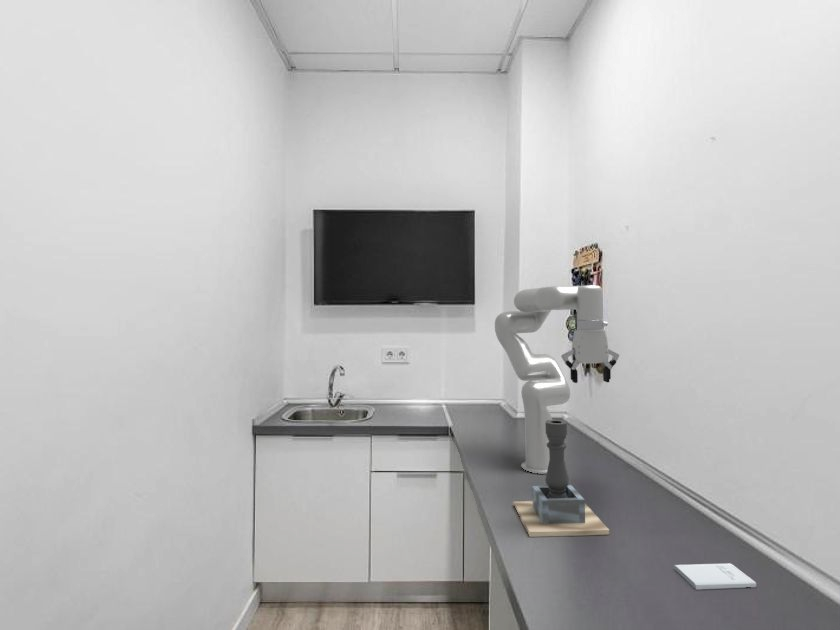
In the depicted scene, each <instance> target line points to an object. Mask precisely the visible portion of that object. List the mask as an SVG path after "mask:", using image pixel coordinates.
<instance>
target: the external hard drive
mask: <svg viewBox="0 0 840 630" xmlns="http://www.w3.org/2000/svg"><path fill="white" fill-rule="evenodd" d="M673 569H674V571H676V572H677V573H678V574H679V575H680V576H681V578H683V579H684V580H685V581H686V582H687V583H688V584H689V585H691V587H693V588H694V589H695V591H697V590H698V591H700V590H721V589H724V590H725V589H745V588H746V587H751V588H757V582H756V581H755V580H753V578H751V577H750V576H748V575H747V574H746V573H744V572H743V571H741V570H740V569H739V568H738V567H736V566H735V565H734V564H732V563H729V562H728V563H701V564H700V563H697V564H696V563H695V564H674V565H673ZM746 589H747V588H746Z"/></svg>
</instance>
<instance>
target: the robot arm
mask: <svg viewBox="0 0 840 630" xmlns="http://www.w3.org/2000/svg"><path fill="white" fill-rule="evenodd" d="M603 294H604V293H603V288H602V287H601V286H600V285H594V284H592V285H554V286H553V285H552V286H545V287H536V288H527V289H522V290H520V291H518V292H517V293H516V294H515V296H514V297H513V305H514V307H515V308H516V309H517V310H508V311H504V312H501V313H499V314H498V315H497V316H496V318H495V320H494V331H495V336H496V339H497V341H498V342H499V343H500V345H501V346H502V348H503V349H504V351H505V352H506V355H507V357H508V359H509V361H510V363H511V366H512V367H513V368H512V369H513V370H514V372H515V374H516V376H517V378H518V379H519V380H520V381H523V382H525V383H524V384H523V386H522V387H521V399H522V403H523V410H524V436H525V438H524V440H525V441H524V442H525V443H524V444H525V446H524V449H525V461H523V462H522V463H521V464H520V467H522V468H523V469H524V470H523V469H522V468H521V469H522V470H523V471H525V470H526V471H525V472H527V471H529V472H528V473H530V472H532V473H531V474H537V473H538V474H539V475H546V474H547V469H548V465H549V448H548V447H547V443H548V442H549V440H548V438H547V434H546V427H545V422H546V421H547V420H553V417H552V415H551V413H550V411H549V410H548V409H547V407H549V406H550V407H551V406H557V405H559V406H560V405H564V404H566V403H568V401H569V399H570V398H571V389H570V386H569V383H568V382H567V380H566V377H565V376H564V374H563V372H562V370H561V368H560V366H559V364H558V362H557V361H556V359H555V358H554V357H553V356H552V355H550V354H546V353H543V354H542V353H541V354H540V353H538V354H537V353H534V352H532V350H531V348H530V347H529V344H528V343H527V342H526V341H525V340H524V339H523V338H522V337H521V336H519V335H518V334H530V333H531V334H532V333H536V332H537V331H539V329H540V328H542V326H543V324H544V322H545V321H546V320H547V318H548V316H549V315H550V313H551V311H560V310H561V311H563V310H564V311H565V310H566V311H567V310H573V311H574V310H576V330H573V336H572V341H571V344H572V345H571V349H570V350H568V351H566V352H565V353H563V354H561V359H562V361H563V362H564V364H565V365H566V366H567V367H568V368H569V369H570V380H571V381H572V383H575V384H578V378H579V377H578V375H579V373H578V370H577V368H578V366H579V365H580V364H602V365H603V368H602V372H603V373H602V376H603V378H602V380H603V381H602V382H606V383H610V380H611V375H612V374H611V373H612V372H611V371H612V369H613V367H614V366H615V365H616V364H617V361H618V360H619V357H620V354H619V353H617V352H615V351H613V350H611V349H609V345H608V339H607V334H606V330H604V328H605V327H608V322H607V321H604V313H603V312H604V310H603V309H604V303H603V301H604V300H603V299H604V298H603V296H604V295H603ZM609 355H610V356H611V357H612V358H611V360H609ZM569 357H571V361H572V362H571V361H570V360H569ZM538 474H537V475H538Z"/></svg>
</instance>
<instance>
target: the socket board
mask: <svg viewBox="0 0 840 630" xmlns="http://www.w3.org/2000/svg"><path fill="white" fill-rule="evenodd" d="M531 488H532V490H531V491H532V492H531V493H532V494H531V495H532V497H531V498H532V500H528V501H527V500H525V501H523V500H522V501H513V503H512V504H514V506H515V508H516V510H517V512H518V514H519V515H518V514H517V515H518V517H519V516H520V517H519V519H520V521H521V523H522V524H523V527H524V528H525V531H526V532H528V533H527V534H528V536H529V537H530V538H534V537H535V538H539V537H571V536H572V537H573V536H575V537H577V536H578V537H579V536H610V529H609V528H608V527H607V526H606V524H604V522H603V521H602V520H601V519H600V518H599V516H597V515H596V513H594V511H593V510H592V509H591V508H590V506H588V505H587V503H586V501H585V498H584V497H583V496H582V495H581V494H580V493H579V492H578V491H577V490H576V489H575V488H574V486H573V485H571V484H568V486H567V488H566V491H565V493H566V494H567V496H568V498H548V499H547V494H548V493H549V491H550V490H549V487H548V485H532V487H531ZM514 506H513V507H514ZM515 508H514V509H515ZM516 510H515V511H516ZM517 512H516V513H517Z"/></svg>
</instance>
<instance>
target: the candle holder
mask: <svg viewBox="0 0 840 630" xmlns="http://www.w3.org/2000/svg"><path fill="white" fill-rule="evenodd" d="M545 427H546V434H547V438H548V440H549V442H548V443H547V447H548V448H549V465H548V469H547V474H545V483H546V486H548V487H549V490H550V491H549V493H548V494H547V499H548V498H568V496H567V494H566V493H565V491H566V488H567V486H568V485H569V480H570V478H569V475H568V470H567V467H566V462H565V449H567V443H565V441H566V438H567V436H568V422H567V421H565V420H562V419H552V420H547V421H546V422H545Z"/></svg>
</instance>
